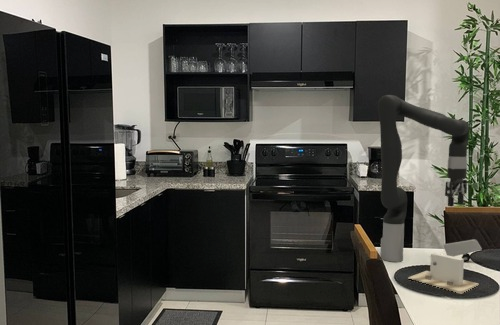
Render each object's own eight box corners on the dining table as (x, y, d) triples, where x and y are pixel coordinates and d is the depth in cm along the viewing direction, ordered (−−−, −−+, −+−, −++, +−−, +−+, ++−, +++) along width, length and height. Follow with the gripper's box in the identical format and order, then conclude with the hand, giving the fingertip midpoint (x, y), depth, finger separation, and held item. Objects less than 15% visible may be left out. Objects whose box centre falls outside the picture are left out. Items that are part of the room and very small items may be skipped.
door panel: (428, 278, 200) (429, 254, 199) (433, 276, 202) (434, 252, 202) (458, 286, 191) (459, 260, 190) (462, 284, 193) (463, 258, 192)
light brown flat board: (408, 279, 202) (408, 273, 201) (426, 272, 211) (426, 267, 211) (461, 294, 185) (461, 287, 185) (478, 286, 194) (478, 279, 194)
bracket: (450, 265, 230) (484, 258, 223) (443, 245, 231) (476, 236, 224) (451, 263, 234) (485, 256, 226) (444, 243, 235) (477, 235, 228)
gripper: (456, 165, 219) (455, 202, 221) (440, 167, 210) (438, 205, 211) (473, 166, 214) (472, 204, 215) (457, 168, 204) (455, 208, 206)
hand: (455, 205), depth 213 cm, fingers open, 8 cm apart
